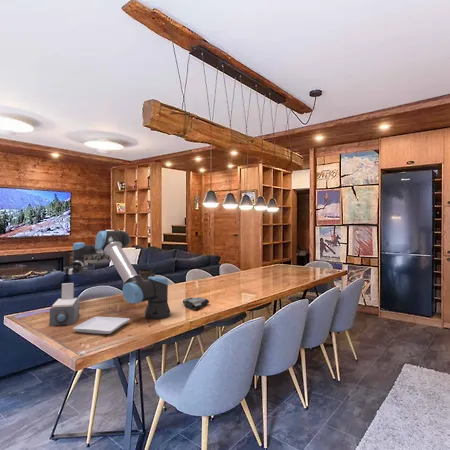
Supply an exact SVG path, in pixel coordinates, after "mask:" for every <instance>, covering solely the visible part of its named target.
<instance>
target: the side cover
mask: <svg viewBox="0 0 450 450" xmlns="http://www.w3.org/2000/svg"><path fill="white" fill-rule="evenodd" d="M74 285H75V283H74V282H65V283H61V298H57V300H56V301H55V302H54V303H53V304H52V306H51V307H70V306H73V305H74V304H75V302H76V301H77V300H78V297H75V296H74V288H75V286H74Z"/></svg>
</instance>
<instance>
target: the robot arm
mask: <svg viewBox="0 0 450 450" xmlns="http://www.w3.org/2000/svg"><path fill="white" fill-rule="evenodd" d="M131 241H132V240H131V236H130V235H129V233H128V232H127V231H125V230H100V231H98V232H97V234H96V236H95V241H94V242H95V243H94V244H86V243H85V242H83V241H82V242H74V243H73V244H72V245H73V246H72V262H71V263H70V264H69V266H64V267H63V271H64V273H68V275H70V276H71V275H72V274H78V273H80V272H83V271H86V267H85V266H86V261H85V256H97V255H98V256H99V255H105V256H108V257H109V259H110V261H111V262H112V264H113V265H114V268H115V269H116V271H117V272H118V274H119V276H120V277H121V279H122V281H123V284H122V290H121V291H122V296H123V298H124V301H126V302H127V303H129V304H139V303H144V302H147V303H146V304H147V305H146V307H145V310H144V318H146V319H152V320H159V319H166V318H168V317H170V316H171V309H170V307H169V306H170V305H169V302H168V295H169V294H168V293H169V292H168V291H169V289H168V288H169V284H168V282H169V281H168V279H167V278H166V277H162V276H155V277H148V280H144V279H143V278H142V276H141V275H139V274H138V273H137V271H136V270H135V268H134V266H133V265H132V263H131V262H130V260H129V258H128V256H127V255H126V253H125V251H124V250H123V249H125V248H127V247H129V245H130V244H131Z"/></svg>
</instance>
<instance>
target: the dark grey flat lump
mask: <svg viewBox="0 0 450 450" xmlns="http://www.w3.org/2000/svg"><path fill="white" fill-rule="evenodd" d="M209 303H210V300H209V299H208V298H203V297H200V296H198V297H193V296H191V297H190V296H189V297H187V298H184V299H182V304H183V305H184V308H188V309H189V310H193V311H195V310H196V309H199V308H203V307H206V306H207V305H208V304H209Z"/></svg>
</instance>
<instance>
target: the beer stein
mask: <svg viewBox="0 0 450 450" xmlns="http://www.w3.org/2000/svg"><path fill="white" fill-rule="evenodd" d="M138 275H141V276H142V278H143V279H144V280H148V277H156V273H154V272H153V270H152V269H149V268H141V269H139V271H138Z"/></svg>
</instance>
